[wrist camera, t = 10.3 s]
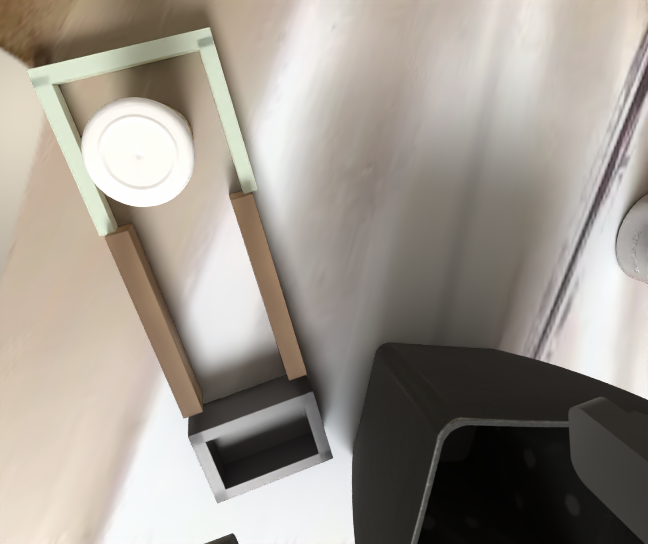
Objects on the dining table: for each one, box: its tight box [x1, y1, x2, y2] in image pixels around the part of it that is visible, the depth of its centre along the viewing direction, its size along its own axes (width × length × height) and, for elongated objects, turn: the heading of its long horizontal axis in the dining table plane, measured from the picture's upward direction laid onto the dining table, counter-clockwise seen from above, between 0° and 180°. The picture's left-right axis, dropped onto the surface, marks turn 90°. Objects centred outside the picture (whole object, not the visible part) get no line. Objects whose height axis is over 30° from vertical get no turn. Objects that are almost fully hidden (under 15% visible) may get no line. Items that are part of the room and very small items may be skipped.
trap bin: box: [188, 375, 333, 503], centre depth 39 cm, size 10×7×4 cm
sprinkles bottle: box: [81, 97, 195, 207], centre depth 26 cm, size 5×5×14 cm
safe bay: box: [27, 27, 258, 236], centre depth 31 cm, size 11×10×2 cm
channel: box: [105, 191, 307, 418], centre depth 35 cm, size 10×15×2 cm, turn 14°
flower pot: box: [352, 343, 648, 544], centre depth 37 cm, size 19×19×17 cm
